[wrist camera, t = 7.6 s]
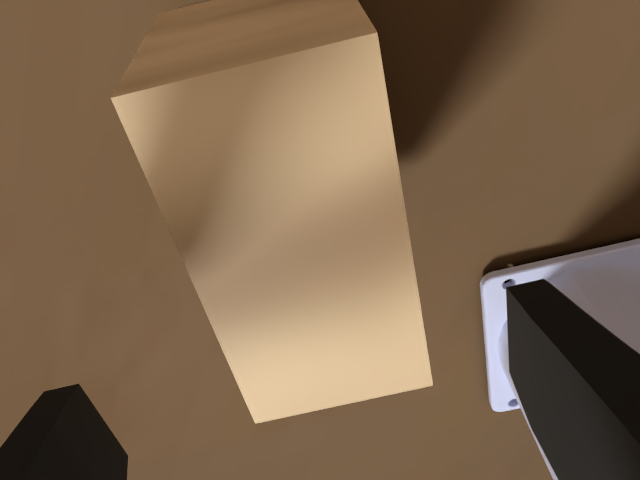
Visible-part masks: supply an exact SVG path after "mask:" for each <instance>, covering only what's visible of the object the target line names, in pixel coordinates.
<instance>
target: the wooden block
mask: <svg viewBox="0 0 640 480" xmlns="http://www.w3.org/2000/svg"><path fill="white" fill-rule="evenodd" d="M111 100H112V102H113V104H114V106H115V109H116V111H117V113H118V115H119V118H120V120H121V122H122V124H123V127H124V129H125V131H126V133H127V136H128V138H129V140H130V142H131V145H132V147H133V149H134V151H135V154H136V156H137V158H138V160H139V163H140V165H141V167H142V170H143V172H144V174H145V176H146V179H147V181H148V183H149V185H150V188H151V190H152V192H153V194H154V197H155V199H156V201H157V203H158V206H159V208H160V210H161V212H162V215H163V217H164V219H165V221H166V224H167V226H168V228H169V230H170V233H171V235H172V237H173V239H174V242H175V244H176V246H177V248H178V251H179V253H180V255H181V257H182V260H183V262H184V264H185V266H186V269H187V271H188V273H189V275H190V278H191V280H192V282H193V284H194V287H195V289H196V291H197V293H198V296H199V298H200V300H201V302H202V305H203V307H204V309H205V312H206V314H207V316H208V318H209V321H210V323H211V325H212V327H213V330H214V332H215V334H216V336H217V339H218V341H219V343H220V345H221V348H222V350H223V352H224V354H225V357H226V359H227V361H228V363H229V366H230V368H231V370H232V372H233V375H234V377H235V379H236V381H237V384H238V386H239V388H240V390H241V393H242V395H243V397H244V399H245V402H246V404H247V406H248V408H249V411H250V413H251V415H252V417H253V420H254V422H255V424H256V423H261V422H265V421H270V420H275V419H279V418H284V417H289V416H293V415H298V414H303V413H307V412H312V411H316V410H321V409H326V408H330V407H335V406H340V405H344V404H349V403H354V402H358V401H363V400H368V399H372V398H377V397H382V396H386V395H391V394H395V393H400V392H405V391H409V390H414V389H419V388H423V387H428V386H433V382H432V376H431V370H430V363H429V357H428V351H427V344H426V338H425V331H424V325H423V319H422V312H421V306H420V300H419V293H418V287H417V281H416V274H415V268H414V262H413V255H412V249H411V243H410V236H409V230H408V224H407V217H406V211H405V204H404V198H403V192H402V185H401V179H400V173H399V166H398V160H397V154H396V147H395V141H394V135H393V128H392V122H391V116H390V109H389V103H388V97H387V90H386V84H385V77H384V71H383V65H382V58H381V52H380V46H379V39H378V33H377V31H376V29H375V28H374V26H373V24H372V23H371V21H370V19H369V18H368V16H367V14H366V13H365V11H364V10H363V8H362V6H361V5H360V3H359V1H358V0H210V1H206V2H202V3H198V4H194V5H190V6H186V7H182V8H178V9H175V10H171V11H167V12H163V13H159V14H158V15H157V16H156V18H155V20H154V22H153V24H152V25H151V27H150V29H149V31H148V32H147V34H146V36H145V38H144V40H143V41H142V43H141V45H140V47H139V49H138V50H137V52H136V54H135V56H134V57H133V59H132V61H131V63H130V65H129V66H128V68H127V70H126V72H125V74H124V75H123V77H122V79H121V81H120V83H119V84H118V86H117V88H116V90H115V91H114V93H113V95H112V97H111Z"/></svg>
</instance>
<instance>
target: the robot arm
mask: <svg viewBox="0 0 640 480" xmlns="http://www.w3.org/2000/svg"><path fill="white" fill-rule="evenodd" d="M508 279H511V280H510V281H509V282H507V283H503V282H504V281H505V280H508ZM480 291H481V303H482V316H483V329H484V341H485V354H486V367H487V379H488V392H489V402H490V404H491V407H492V409H493V410H494V411H497V412H504V411H508V410H513V409H518V408H521V410H522V413H523V415H524V417H525V419H526V421H527V423H528V426H529V428H530V430H531V432H532V434H533V436H534V439H535V441H536V443H537V445H538V447H539V449H540V452H541V454H542V456H543V458H544V460H545V463H546V465H547V467H548V469H549V471H550V473H551V476H552V478H553V480H640V239H635V240H631V241H626V242H622V243H617V244H613V245H608V246H604V247H600V248H595V249H591V250H586V251H582V252H577V253H573V254H568V255H564V256H560V257H555V258H551V259H546V260H542V261H537V262H533V263H528V264H524V265H520V266H515V267H511V268H506V269H502V270H497V271H493V272H490V273H487V274H486V275H485V276H483V278H482V279H481V282H480ZM127 464H128V455H127V454H126V452H125V451H124V449H123V448H122V446H121V445H120V443H119V442H118V440H117V439H116V437H115V436H114V435H113V433H112V432H111V430H110V429H109V427H108V426H107V424H106V423H105V421H104V420H103V418H102V417H101V416H100V414H99V413H98V411H97V410H96V408H95V407H94V405H93V404H92V402H91V401H90V399H89V398H88V397H87V395H86V394H85V392H84V391H83V389H82V388H81V386H80V385H79V384H76V385H71V386H67V387H62V388H58V389H54V390H49V391H45V392H43V394H42V395H41V396H40V397H39V398H38V400H37V401H36V402H35V403H34V405H33V406H32V407H31V408H30V410H29V411H28V412H27V413H26V415H25V416H24V417H23V419H22V420H21V421H20V423H19V424H18V425H17V427H16V428H15V429H14V430H13V432H12V433H11V434H10V436H9V437H8V438H7V440H6V441H5V442H4V444H3V445H2V446H1V448H0V480H127Z"/></svg>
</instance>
